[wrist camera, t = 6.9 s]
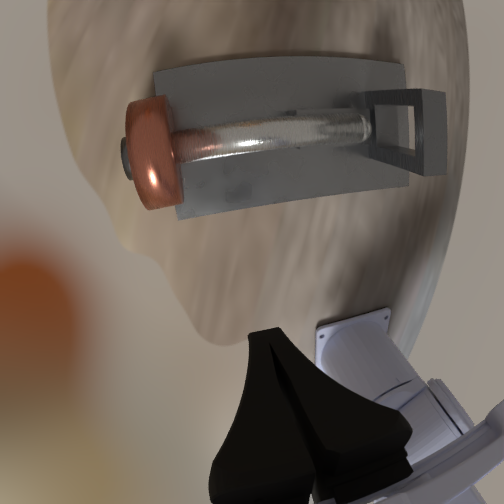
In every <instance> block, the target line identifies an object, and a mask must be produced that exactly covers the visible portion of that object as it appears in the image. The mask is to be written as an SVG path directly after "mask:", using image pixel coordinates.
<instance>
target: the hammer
mask: <svg viewBox="0 0 504 504" xmlns="http://www.w3.org/2000/svg"><path fill="white" fill-rule="evenodd" d="M125 131H126V137H124V138H122V140H121V158H122V163H123V168H124V171H125V173H126V176H127V178H128V179H129V180H134V184H135V187H136V190H137V192H138V195H139V197H140V199H141V201H142V203H143V205H144V206H145V208H146V209H147V210H154V209H159V208H164V207H169V206H174V205H179V204H183V202H184V190H183V179H182V171H181V164H184V163H189V162H194V161H200V160H205V159H211V158H217V157H223V156H230V155H237V154H243V153H251V152H258V151H266V150H274V149H283V148H292V147H303V146H314V145H326V144H341V143H359V142H363V141H365V140H367V139H368V138H369V136H370V135H371V131H372V127H371V123H370V121H369V120H368V119H367V118H366V117H365V116H364V115H362V114H358V113H338V114H311V115H294V116H281V117H270V118H260V119H251V120H243V121H235V122H228V123H221V124H214V125H208V126H202V127H196V128H190V129H185V130H180V131H175V127H174V122H173V117H172V112H171V108H170V104H169V101H168V98H167V95H166V94H164V95H159V96H154V97H150V98H146V99H141V100H137V101H133V102H130V103H129V105H128V107H127V111H126V122H125Z"/></svg>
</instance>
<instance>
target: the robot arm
mask: <svg viewBox="0 0 504 504" xmlns="http://www.w3.org/2000/svg"><path fill="white" fill-rule="evenodd" d="M390 315H391V310H390V309H389V308H388V307H387V308H383V309H380V310H377V311H374V312H370V313H367V314H363V315H360V316H357V317H353V318H350V319H346V320H342V321H339V322H335V323H331V324H327V325H324V326H320V327H318V328H317V329H316V346H315V365H314V364H313V363H312V362H311V361H310V360H309V359H308V358H307V357H306V356H305V355H304V354H303V353H302V352H301V351H300V350H299V349H298V348H297V347H296V346H295V345H294V344H293V343H292V342H291V341H290V340H289V338H288V337H287V336H286V335H285V334H284V332H283V331H282V330H281V328H279V327H276V328H271V329H267V330H262V331H257V332H252V333H249V335H248V341H249V361H248V369H247V375H246V380H245V386H244V390H243V394H242V397H241V401H240V404H239V407H238V410H237V413H236V416H235V419H234V421H233V424H232V426H231V428H230V430H229V432H228V434H227V437H226V439H225V441H224V443H223V445H222V447H221V448H220V450H219V452H218V453H217V455H216V457H215V459H214V460H213V463H212V467H211V471H210V476H209V496H210V500H211V503H213V504H309V497H310V494H312V498H313V501H314V504H367V503H370V502H372V501H373V502H374V504H486V502H485V501H484V499H483V498H482V496H481V495H480V493H479V492H478V490H477V489H476V487H475V486H474V484H475V483H477V482H478V481H479V480H481V479H482V478H483V477H484V476H486V475H487V474H488V473H489V472H491V471H492V470H493V469H494V468H495V467H496V466H498V465H499V464H500V463H501V462H502V461H503V460H504V400H503V401H501V402H500V403H499V404H498V405H496V406H495V407H494V408H493V409H492V410H491V411H490V412H489V414H488V415H487V416H486V418H485V420H483V421H482V422H480V423H479V424H478V425H476V426H475V427H474V423H473V421H472V420H471V419H470V417H469V416H468V414H467V413H466V412H465V410H464V409H463V407H462V406H461V405H460V403H459V402H458V401H457V400H456V398H455V397H454V395H453V394H452V393H451V392H450V390H449V389H448V388H447V386H446V385H445V384H444V383H443V381H442V380H441V379H435V380H434V379H433V378H431V379H430V380H429V381H428V382H427V384H428V385H429V387H428V385H427V384H426V383H425V382H424V381H423V380H422V379H421V378H420V376H419V375H418V374H417V373H416V371H415V370H414V369H413V367H412V366H411V365H410V363H409V362H408V361H407V359H406V358H405V357H404V355H403V354H402V353H401V351H400V350H399V349H398V348H397V346H396V345H395V344H394V342H393V341H392V340H391V339H390V337H389V336H388V335H387V330H388V325H389V320H390ZM385 316H386V317H385ZM322 334H323V335H322ZM320 335H322V336H320Z"/></svg>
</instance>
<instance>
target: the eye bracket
mask: <svg viewBox="0 0 504 504" xmlns="http://www.w3.org/2000/svg"><path fill="white" fill-rule="evenodd" d="M153 76H154V84H155V92H156V96H159V95H164V94H166V95H167V98H168V101H169V104H170V108H171V112H172V117H173V122H174V127H175V131H180V130H185V129H190V128H196V127H202V126H208V125H214V124H221V123H228V122H235V121H243V120H251V119H260V118H270V117H281V116H294V115H311V114H338V113H358V114H362V115H364V116H365V117H366V118H367V119H368V120H369V121H370V123H371V127H372V131H371V135H370V136H369V138H368V139H367V140H365V141H363V142H359V143H341V144H326V145H314V146H303V147H292V148H283V149H274V150H266V151H258V152H251V153H243V154H237V155H230V156H223V157H217V158H211V159H205V160H200V161H194V162H189V163H184V164H181V171H182V179H183V190H184V202H183V204H179V205H175V208H176V212H177V217H178V220H183V219H189V218H194V217H199V216H205V215H210V214H216V213H221V212H227V211H233V210H238V209H244V208H250V207H256V206H263V205H269V204H275V203H282V202H288V201H295V200H301V199H308V198H315V197H322V196H330V195H337V194H345V193H352V192H360V191H369V190H377V189H386V188H395V187H404V186H409V171H410V172H413V173H416V174H419V175H421V176H435V175H446V172H447V111H446V95H445V92H440V91H434V90H427V89H406V81H405V72H404V64H398V63H391V62H383V61H375V60H366V59H355V58H342V57H320V56H281V57H259V58H245V59H234V60H224V61H216V62H208V63H201V64H195V65H189V66H183V67H177V68H172V69H167V70H162V71H157V72H153ZM408 106H414V117H415V150H413V149H409V122H408Z"/></svg>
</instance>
